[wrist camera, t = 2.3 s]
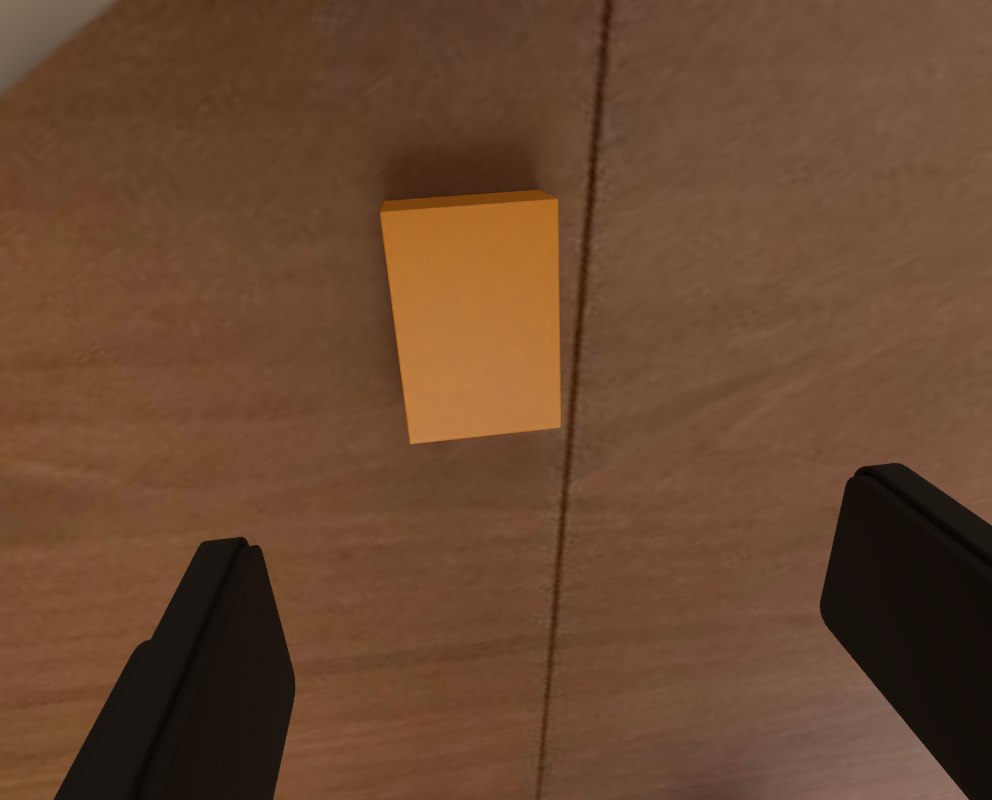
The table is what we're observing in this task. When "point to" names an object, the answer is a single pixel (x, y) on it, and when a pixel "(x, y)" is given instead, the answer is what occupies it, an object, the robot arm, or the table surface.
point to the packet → (476, 312)
